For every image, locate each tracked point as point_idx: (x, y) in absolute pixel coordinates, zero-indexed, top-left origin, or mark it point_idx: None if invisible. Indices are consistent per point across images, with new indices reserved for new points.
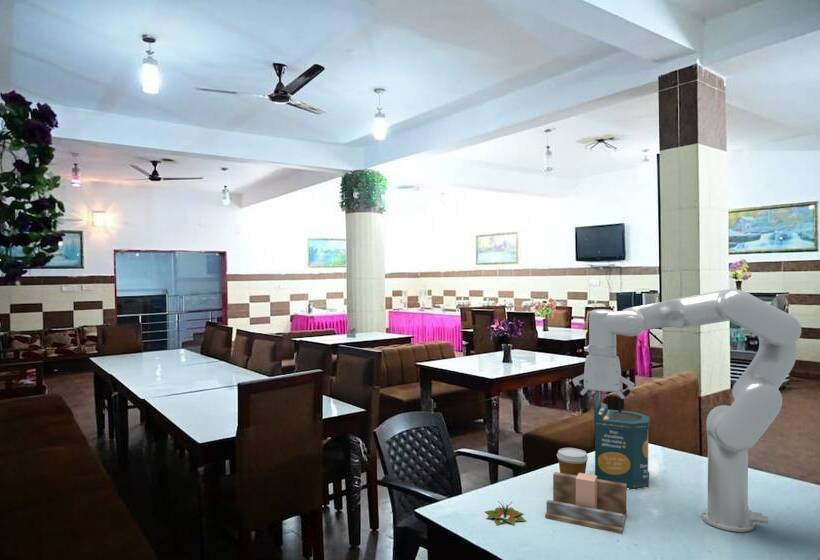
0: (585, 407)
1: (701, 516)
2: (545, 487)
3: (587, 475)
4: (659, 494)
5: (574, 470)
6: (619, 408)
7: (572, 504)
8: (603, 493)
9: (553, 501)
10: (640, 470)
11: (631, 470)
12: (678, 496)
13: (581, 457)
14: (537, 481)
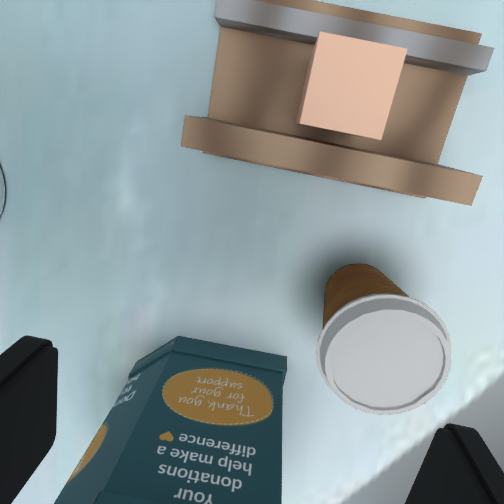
0: (457, 430)
1: (3, 184)
2: (442, 294)
3: (344, 110)
4: (109, 320)
5: (370, 286)
6: (12, 361)
7: None
8: (273, 132)
9: (465, 58)
10: (139, 384)
11: (166, 372)
12: (62, 318)
13: (351, 317)
14: (463, 335)
